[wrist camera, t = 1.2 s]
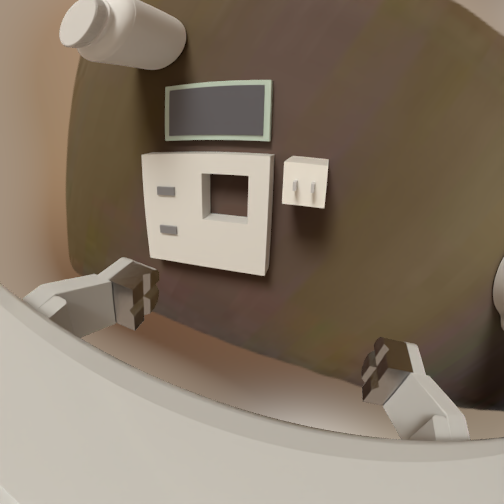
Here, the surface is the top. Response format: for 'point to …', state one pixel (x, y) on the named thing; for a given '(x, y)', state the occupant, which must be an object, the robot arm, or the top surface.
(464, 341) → the top surface
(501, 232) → the top surface
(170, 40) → the pill bottle
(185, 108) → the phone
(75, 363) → the robot arm
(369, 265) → the top surface
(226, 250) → the outlet plate
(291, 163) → the charger
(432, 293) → the top surface
